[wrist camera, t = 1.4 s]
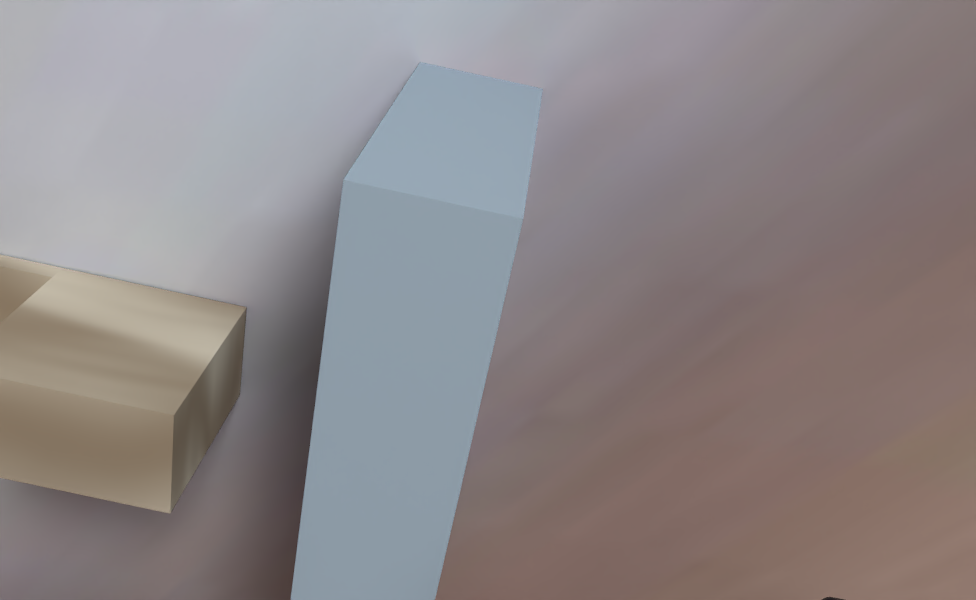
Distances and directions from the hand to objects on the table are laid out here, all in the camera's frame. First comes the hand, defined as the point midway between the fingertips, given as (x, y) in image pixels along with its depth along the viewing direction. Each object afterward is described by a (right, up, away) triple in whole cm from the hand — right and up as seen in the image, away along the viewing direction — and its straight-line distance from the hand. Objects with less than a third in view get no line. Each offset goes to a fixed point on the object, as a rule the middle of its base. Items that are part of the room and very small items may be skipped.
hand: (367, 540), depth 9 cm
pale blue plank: (0, +2, +13) cm, 13 cm away
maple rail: (-11, +2, +14) cm, 18 cm away
